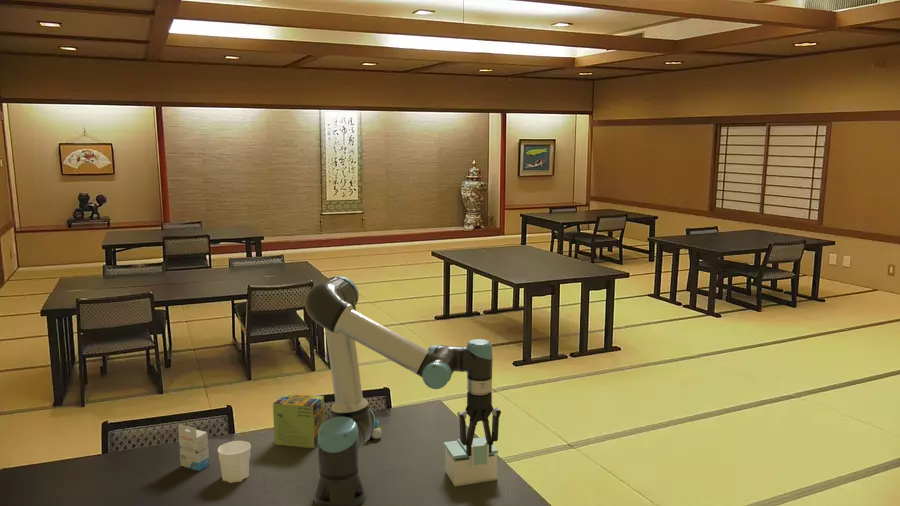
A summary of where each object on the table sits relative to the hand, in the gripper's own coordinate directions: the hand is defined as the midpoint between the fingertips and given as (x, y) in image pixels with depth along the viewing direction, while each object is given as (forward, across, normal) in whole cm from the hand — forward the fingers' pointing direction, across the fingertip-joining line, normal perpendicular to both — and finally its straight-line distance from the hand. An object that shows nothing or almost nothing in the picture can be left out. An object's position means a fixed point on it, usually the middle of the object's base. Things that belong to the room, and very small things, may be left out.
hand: (478, 464), depth 210 cm
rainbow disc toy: (+9, -26, +48) cm, 55 cm away
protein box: (+9, -50, +52) cm, 73 cm away
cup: (+9, -72, +30) cm, 78 cm away
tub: (+8, 0, +8) cm, 11 cm away
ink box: (+9, -85, +42) cm, 95 cm away
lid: (0, 0, +6) cm, 6 cm away
